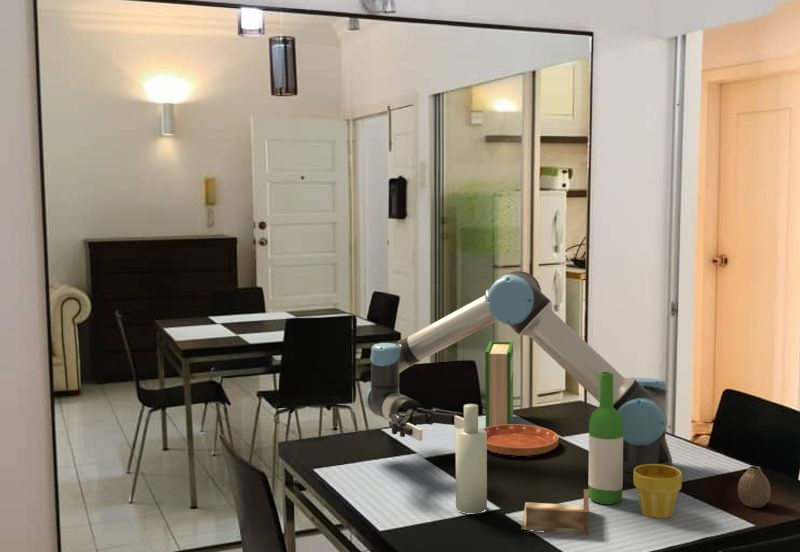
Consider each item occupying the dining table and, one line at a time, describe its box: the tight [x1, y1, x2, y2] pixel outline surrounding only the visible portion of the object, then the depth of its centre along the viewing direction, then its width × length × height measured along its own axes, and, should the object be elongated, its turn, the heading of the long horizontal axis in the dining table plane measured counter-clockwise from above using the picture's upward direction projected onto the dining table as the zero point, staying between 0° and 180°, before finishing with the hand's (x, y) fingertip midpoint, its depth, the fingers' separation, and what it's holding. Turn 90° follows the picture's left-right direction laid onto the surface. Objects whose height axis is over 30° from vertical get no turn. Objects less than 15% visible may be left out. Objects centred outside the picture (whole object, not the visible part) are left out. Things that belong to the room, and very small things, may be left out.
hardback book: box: [484, 341, 514, 428], centre depth 272 cm, size 18×7×24 cm, turn 170°
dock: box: [521, 488, 590, 536], centre depth 193 cm, size 14×14×5 cm
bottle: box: [455, 403, 488, 513], centre depth 200 cm, size 7×7×24 cm
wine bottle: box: [588, 372, 624, 505], centre depth 204 cm, size 8×8×30 cm
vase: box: [737, 465, 772, 509], centre depth 201 cm, size 7×7×9 cm
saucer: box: [482, 423, 560, 457], centre depth 248 cm, size 23×23×4 cm
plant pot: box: [632, 464, 683, 519], centre depth 196 cm, size 10×10×10 cm
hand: (446, 431), depth 208 cm, fingers open, 13 cm apart
